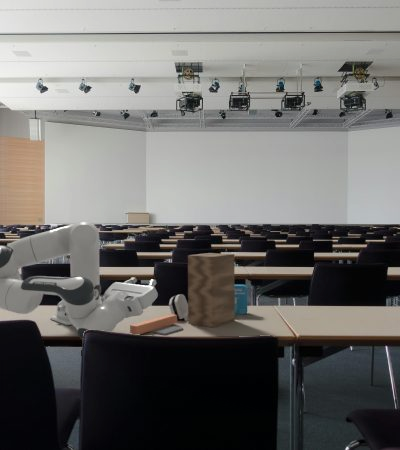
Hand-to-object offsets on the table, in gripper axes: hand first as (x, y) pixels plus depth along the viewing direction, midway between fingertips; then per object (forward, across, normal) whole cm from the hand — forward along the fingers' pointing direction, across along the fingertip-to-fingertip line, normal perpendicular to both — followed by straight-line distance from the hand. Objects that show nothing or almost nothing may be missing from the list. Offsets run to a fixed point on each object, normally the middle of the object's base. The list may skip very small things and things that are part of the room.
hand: (144, 279), depth 163 cm
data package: (+30, +7, -39) cm, 50 cm away
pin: (-5, 0, -18) cm, 19 cm away
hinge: (+15, -7, -30) cm, 35 cm away
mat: (-4, +1, -19) cm, 20 cm away
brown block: (+15, +9, -30) cm, 34 cm away
